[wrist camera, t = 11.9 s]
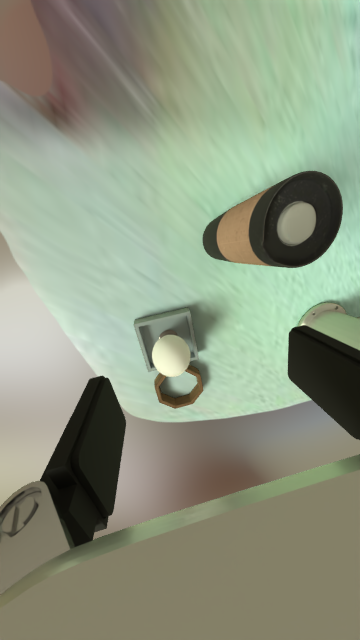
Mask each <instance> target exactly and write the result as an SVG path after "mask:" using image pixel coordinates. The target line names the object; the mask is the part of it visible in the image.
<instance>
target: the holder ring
mask: <svg viewBox="0 0 360 640" xmlns="http://www.w3.org/2000/svg"><path fill="white" fill-rule="evenodd" d="M185 371H186V372H188V373H190V374H192V375H194V376H196V377H197V382H198V383H197V385H196V386H195V387H194V389H193V390H192V391H191V392H190V394H188V395H185V396H181V397H177V398H173V397H170V396H168V395H166V394H163V393H161V389H160V384H161V383H162V382H163V380H164V379H165V378H166V376H165V375H163V374H161V373H159V375H158V376H157V377H156V379H155V390H156V393H157V396H158V400H159V402H160V403H162V404H165V405H167V406H170V407H172V408H179V407H183V406H187V405H190V404H193V403H194V402H195V400H196V399H197V398H198V397H199V395H200V394H201V393H202V392H203V386H202V381H201V375H200V373H199V370H198V369H197V368H195V367H193V366H191V365H188V367H187V369H186V370H185Z"/></svg>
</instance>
